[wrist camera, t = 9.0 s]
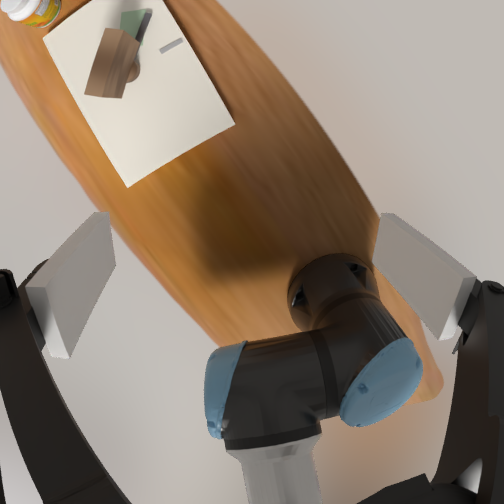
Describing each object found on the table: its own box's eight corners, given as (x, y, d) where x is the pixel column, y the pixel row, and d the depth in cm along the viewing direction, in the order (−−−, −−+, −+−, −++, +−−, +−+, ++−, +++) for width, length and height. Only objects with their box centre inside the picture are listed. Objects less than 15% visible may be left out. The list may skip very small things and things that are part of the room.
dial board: (234, 123, 39) (235, 124, 37) (131, 184, 40) (127, 188, 38) (145, -26, 27) (142, -31, 25) (49, 40, 29) (41, 38, 27)
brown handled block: (131, 99, 34) (106, 98, 25) (110, 95, 33) (79, 93, 24) (160, 16, 29) (145, -9, 20) (138, 13, 28) (117, -12, 20)
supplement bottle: (26, 26, 27) (-11, 15, 18) (42, -6, 25) (9, -22, 17) (50, 31, 29) (15, 18, 20) (68, -2, 27) (36, -21, 18)
